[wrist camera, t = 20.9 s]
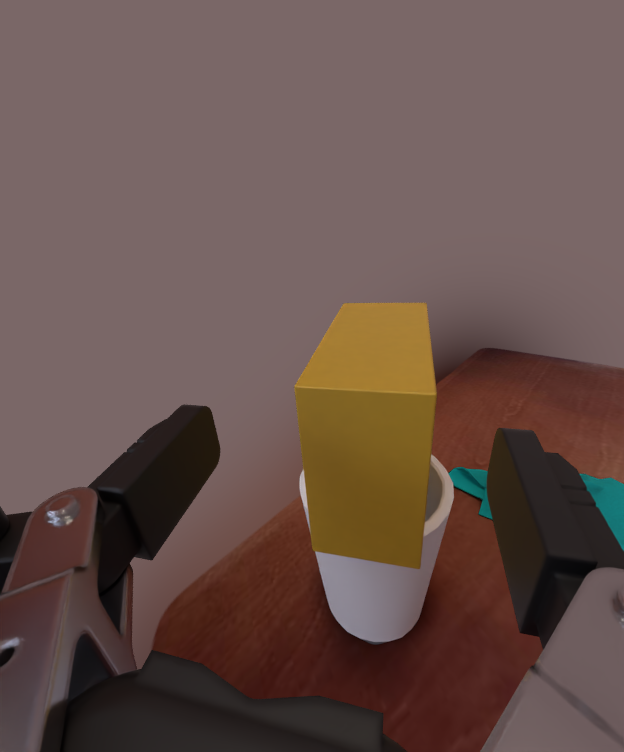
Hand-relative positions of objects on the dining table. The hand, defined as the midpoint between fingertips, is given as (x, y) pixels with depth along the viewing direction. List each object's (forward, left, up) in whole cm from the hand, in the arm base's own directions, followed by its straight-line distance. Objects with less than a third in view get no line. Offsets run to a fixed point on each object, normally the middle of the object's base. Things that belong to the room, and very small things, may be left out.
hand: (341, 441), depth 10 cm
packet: (+3, +10, -11) cm, 14 cm away
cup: (+3, +10, -24) cm, 26 cm away
